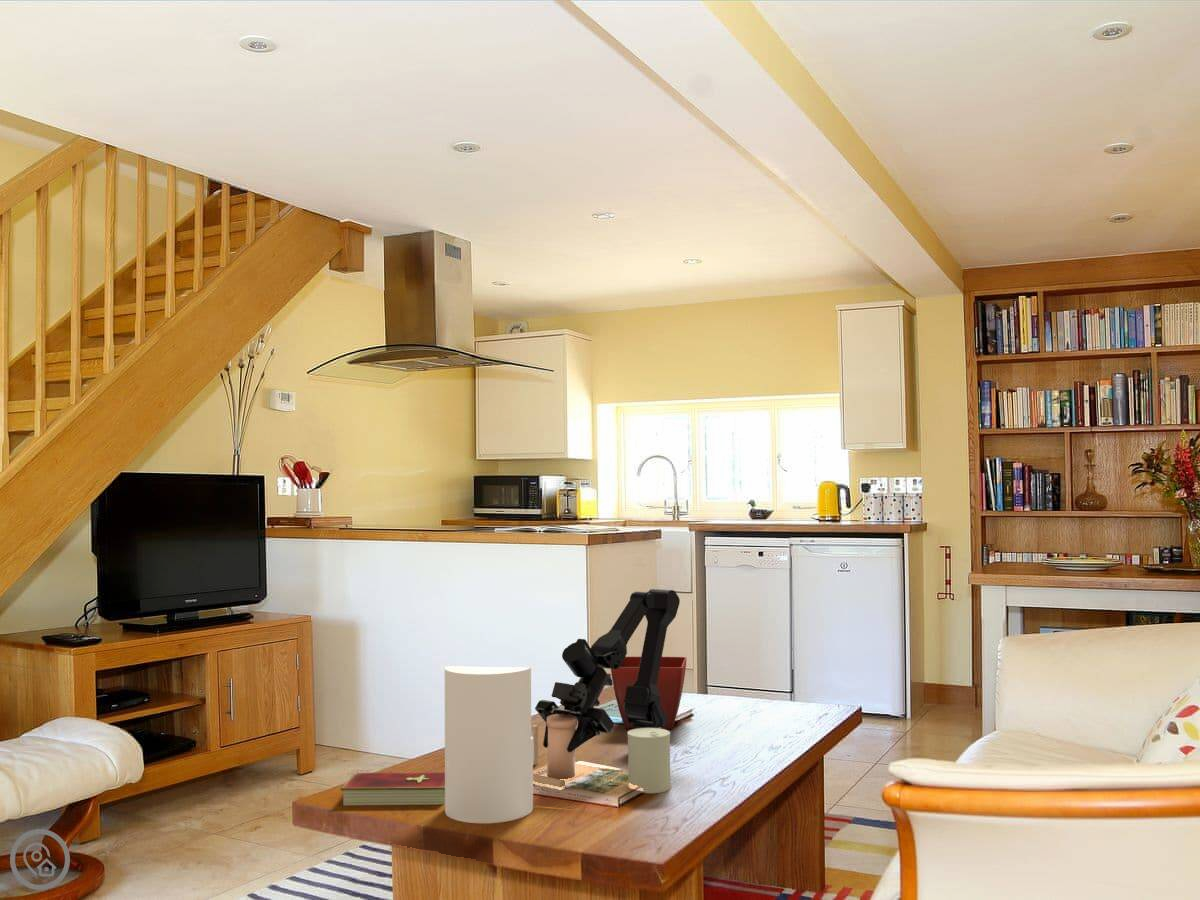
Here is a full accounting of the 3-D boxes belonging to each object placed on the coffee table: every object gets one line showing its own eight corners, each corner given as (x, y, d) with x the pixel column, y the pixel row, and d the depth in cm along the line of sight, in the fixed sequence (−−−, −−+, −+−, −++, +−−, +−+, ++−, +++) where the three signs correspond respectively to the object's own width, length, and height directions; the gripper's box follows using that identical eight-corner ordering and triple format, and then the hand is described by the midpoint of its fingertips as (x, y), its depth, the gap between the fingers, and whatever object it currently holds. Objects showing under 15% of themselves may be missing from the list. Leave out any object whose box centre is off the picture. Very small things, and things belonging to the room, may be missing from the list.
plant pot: (619, 716, 292) (618, 655, 292) (687, 717, 289) (686, 656, 290) (610, 731, 273) (609, 666, 273) (683, 733, 270) (682, 667, 271)
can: (641, 796, 214) (640, 737, 215) (619, 785, 222) (619, 728, 223) (679, 789, 218) (678, 732, 219) (657, 779, 227) (656, 723, 227)
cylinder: (521, 825, 196) (520, 675, 197) (433, 821, 199) (432, 673, 200) (541, 798, 213) (540, 660, 214) (459, 795, 216) (459, 659, 217)
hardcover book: (354, 791, 221) (354, 771, 221) (453, 790, 221) (453, 770, 221) (340, 808, 209) (340, 787, 209) (445, 807, 209) (445, 786, 209)
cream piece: (557, 757, 246) (557, 719, 246) (621, 770, 234) (621, 729, 235) (494, 777, 229) (494, 736, 229) (560, 792, 217) (559, 748, 218)
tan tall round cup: (580, 774, 229) (580, 715, 229) (570, 783, 223) (571, 722, 223) (551, 771, 231) (552, 712, 231) (541, 780, 225) (542, 720, 225)
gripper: (540, 663, 237) (506, 721, 228) (604, 672, 225) (572, 732, 216) (562, 693, 243) (531, 750, 233) (627, 703, 231) (596, 763, 222)
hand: (556, 748), depth 226 cm, fingers closed on tan tall round cup, 6 cm apart
